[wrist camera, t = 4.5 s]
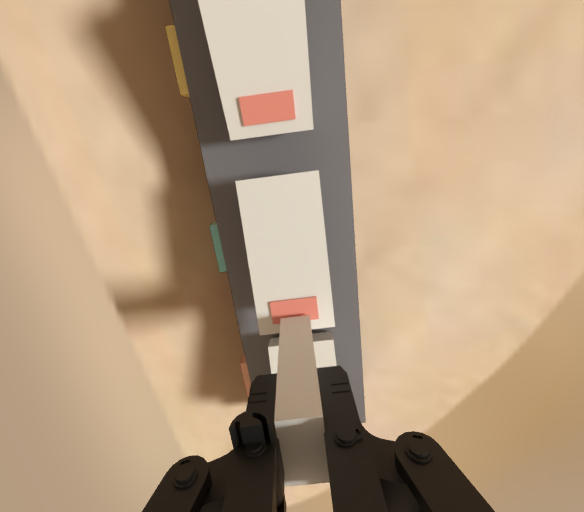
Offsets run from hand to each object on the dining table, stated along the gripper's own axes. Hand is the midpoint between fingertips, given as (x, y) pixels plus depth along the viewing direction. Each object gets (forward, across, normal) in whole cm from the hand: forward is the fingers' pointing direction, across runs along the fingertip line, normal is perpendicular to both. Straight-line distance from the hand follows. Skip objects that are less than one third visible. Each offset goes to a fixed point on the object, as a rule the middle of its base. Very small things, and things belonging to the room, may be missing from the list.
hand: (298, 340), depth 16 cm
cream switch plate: (+2, 0, +4) cm, 4 cm away
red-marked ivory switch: (+1, 0, +14) cm, 14 cm away
